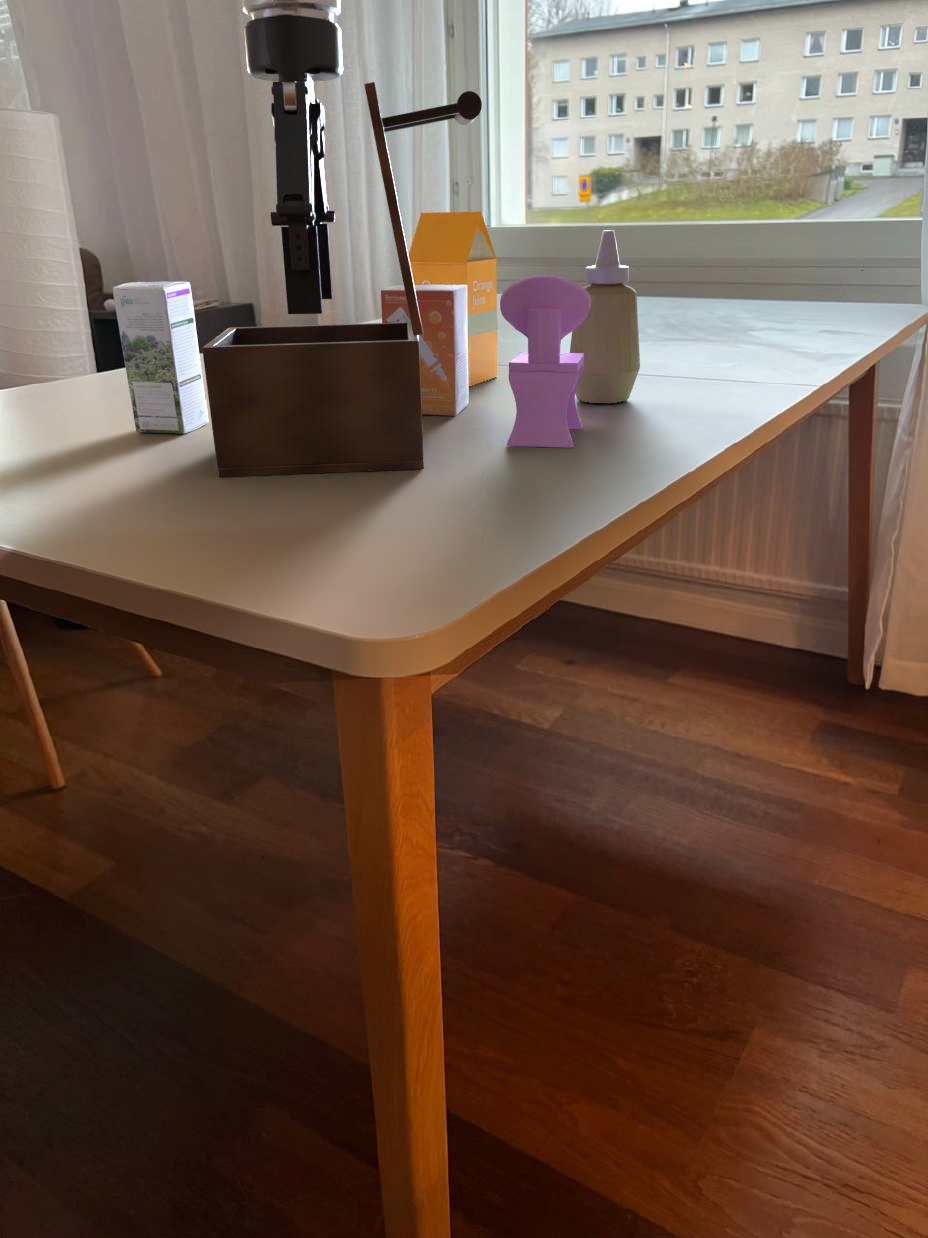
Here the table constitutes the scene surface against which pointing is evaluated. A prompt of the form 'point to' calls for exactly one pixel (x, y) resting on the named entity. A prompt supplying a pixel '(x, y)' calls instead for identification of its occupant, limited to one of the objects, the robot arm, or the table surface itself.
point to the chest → (315, 399)
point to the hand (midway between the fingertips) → (312, 306)
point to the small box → (437, 343)
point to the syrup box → (161, 356)
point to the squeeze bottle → (608, 330)
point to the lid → (460, 111)
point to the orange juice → (462, 278)
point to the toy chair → (545, 358)
